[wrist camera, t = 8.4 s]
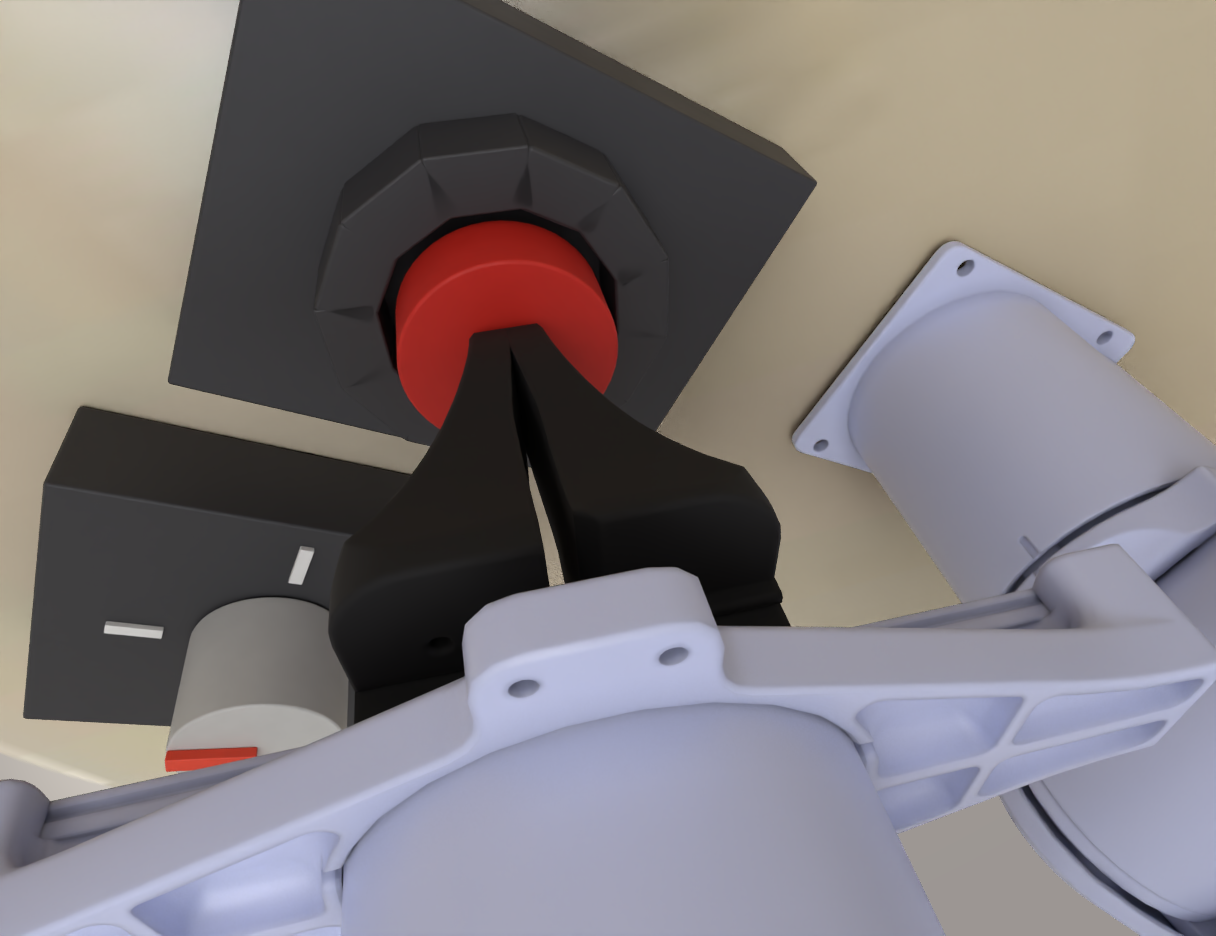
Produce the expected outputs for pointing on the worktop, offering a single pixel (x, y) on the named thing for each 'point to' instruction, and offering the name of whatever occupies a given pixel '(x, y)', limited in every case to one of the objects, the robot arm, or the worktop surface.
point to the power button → (496, 307)
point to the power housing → (455, 199)
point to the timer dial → (256, 684)
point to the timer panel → (172, 555)
